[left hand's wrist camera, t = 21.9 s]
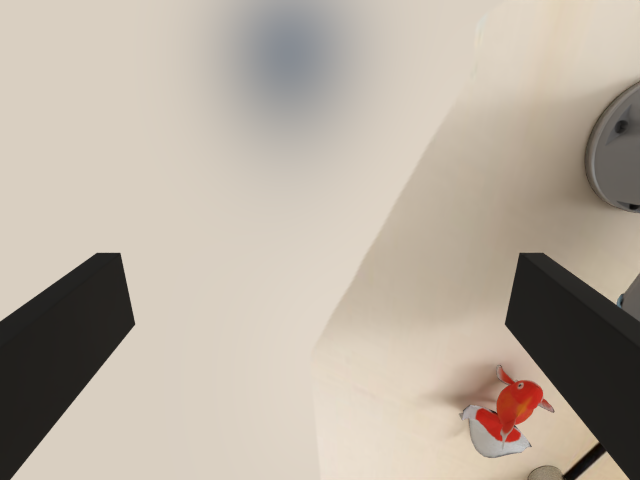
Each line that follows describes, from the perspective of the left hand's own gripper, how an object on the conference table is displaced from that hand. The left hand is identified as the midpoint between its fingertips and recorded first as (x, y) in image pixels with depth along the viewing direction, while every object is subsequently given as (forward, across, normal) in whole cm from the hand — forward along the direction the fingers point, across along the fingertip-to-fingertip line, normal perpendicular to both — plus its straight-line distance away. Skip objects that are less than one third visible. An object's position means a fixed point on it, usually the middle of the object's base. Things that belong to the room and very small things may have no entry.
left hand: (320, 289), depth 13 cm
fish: (+33, +26, -36) cm, 55 cm away
